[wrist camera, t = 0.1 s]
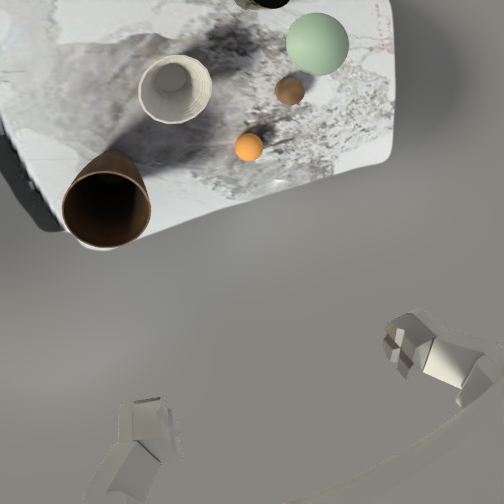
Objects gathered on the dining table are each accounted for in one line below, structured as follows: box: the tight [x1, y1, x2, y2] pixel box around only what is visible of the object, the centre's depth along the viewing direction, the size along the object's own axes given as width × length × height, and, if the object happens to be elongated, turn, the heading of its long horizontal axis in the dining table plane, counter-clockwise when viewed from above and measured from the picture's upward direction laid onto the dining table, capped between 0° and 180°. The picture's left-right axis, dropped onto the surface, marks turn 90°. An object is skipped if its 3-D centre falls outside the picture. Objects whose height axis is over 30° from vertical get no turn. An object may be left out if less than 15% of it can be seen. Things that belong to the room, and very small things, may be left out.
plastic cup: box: [139, 55, 212, 124], centre depth 41 cm, size 11×11×12 cm
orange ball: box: [235, 133, 263, 161], centre depth 57 cm, size 6×6×6 cm
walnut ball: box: [275, 77, 305, 105], centre depth 50 cm, size 6×6×6 cm
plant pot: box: [62, 151, 151, 248], centre depth 48 cm, size 15×15×16 cm
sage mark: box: [286, 13, 349, 76], centre depth 46 cm, size 14×14×1 cm
